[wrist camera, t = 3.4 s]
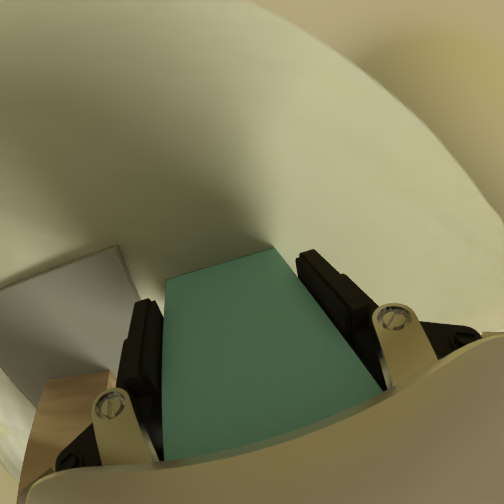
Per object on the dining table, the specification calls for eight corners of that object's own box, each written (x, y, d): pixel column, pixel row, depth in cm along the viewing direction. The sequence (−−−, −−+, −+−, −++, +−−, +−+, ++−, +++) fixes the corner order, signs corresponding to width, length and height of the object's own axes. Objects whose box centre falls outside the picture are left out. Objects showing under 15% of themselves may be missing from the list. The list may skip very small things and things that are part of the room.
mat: (245, 468, 21) (246, 471, 21) (136, 483, 20) (136, 486, 20) (117, 245, 11) (115, 249, 11) (-36, 304, 10) (-39, 307, 9)
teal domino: (280, 277, 13) (402, 466, 4) (178, 308, 13) (200, 532, 4) (274, 247, 13) (419, 443, 4) (166, 279, 12) (170, 523, 3)
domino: (124, 388, 14) (120, 553, 5) (61, 396, 13) (38, 534, 4) (110, 369, 13) (96, 547, 4) (46, 380, 12) (14, 523, 3)
